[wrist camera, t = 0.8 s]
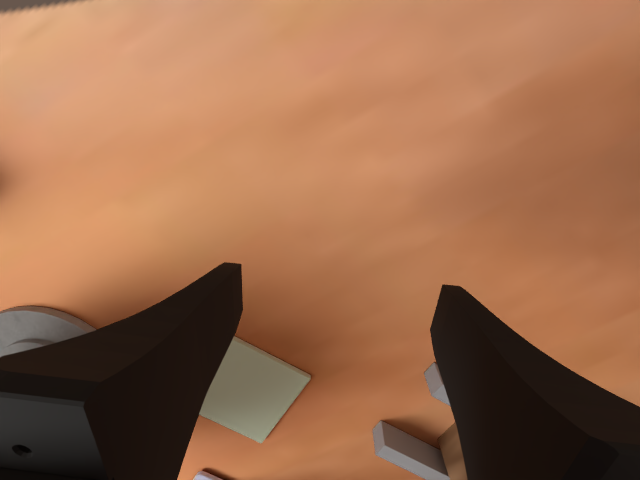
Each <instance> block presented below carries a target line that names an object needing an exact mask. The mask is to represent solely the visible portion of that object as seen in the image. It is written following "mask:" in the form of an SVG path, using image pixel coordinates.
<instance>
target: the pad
mask: <svg viewBox="0 0 640 480" xmlns="http://www.w3.org/2000/svg"><path fill="white" fill-rule="evenodd" d="M310 379H311V375H310V374H308V373H306V372H304V371H302V370H300V369H298V368H296V367H294V366H292V365H290V364H288V363H286V362H284V361H282V360H280V359H278V358H276V357H274V356H272V355H270V354H268V353H266V352H264V351H263V350H261V349H259V348H257V347H255V346H253V345H251V344H249V343H247V342H245V341H243V340H241V339H239V338H237V337H235V336H234V337H233V339H232V342H231V344H230V346H229V348H228V350H227V352H226V354H225V356H224V358H223V360H222V362H221V364H220V367H219V369H218V371H217V373H216V375H215V377H214V379H213V381H212V383H211V385H210V387H209V390H208V392H207V394H206V397H205V399H204V402H203V405H202V407H201V410H200V413H199V415H201V416H203V417H205V418H208V419H210V420H212V421H214V422H216V423H218V424H220V425H223V426H225V427H227V428H229V429H231V430H233V431H235V432H238V433H240V434H242V435H244V436H246V437H248V438H251V439H253V440H255V441H257V442H259V443H262V442H263V441H264V440H265V438H266V437H267V436H268V434H269V433H270V432H271V430H272V429H273V428H274V426H275V425H276V424H277V422H278V421H279V420H280V418H281V417H282V416H283V415H284V413H285V412H286V411H287V409H288V408H289V407H290V405H291V404H292V403H293V401H294V400H295V399H296V397H297V396H298V395H299V394H300V392H301V391H302V390H303V388H304V387H305V386H306V384H307V383H308V382H309V380H310Z"/></svg>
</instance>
